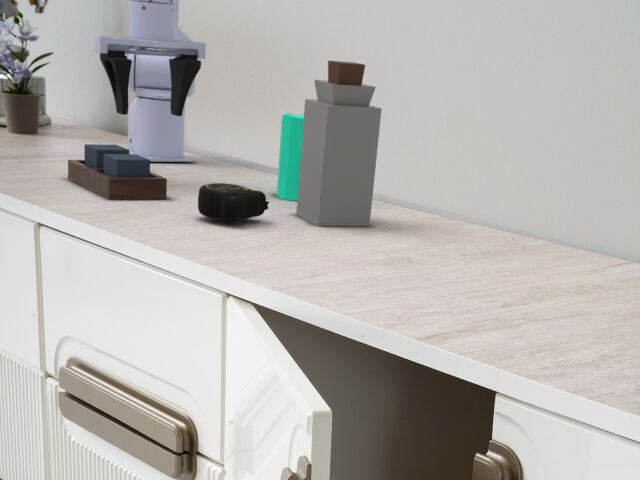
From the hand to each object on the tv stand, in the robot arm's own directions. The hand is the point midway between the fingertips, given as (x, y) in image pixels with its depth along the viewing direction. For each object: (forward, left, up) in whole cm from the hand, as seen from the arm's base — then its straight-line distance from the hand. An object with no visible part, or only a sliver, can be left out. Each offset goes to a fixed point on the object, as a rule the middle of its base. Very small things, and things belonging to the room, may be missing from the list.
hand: (149, 114), depth 147 cm
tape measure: (+26, -1, -9) cm, 28 cm away
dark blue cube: (+9, -7, -8) cm, 14 cm away
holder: (+5, -7, -9) cm, 12 cm away
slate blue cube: (+2, -7, -8) cm, 10 cm away
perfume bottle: (+27, +12, -9) cm, 31 cm away
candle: (+12, +16, -9) cm, 22 cm away
